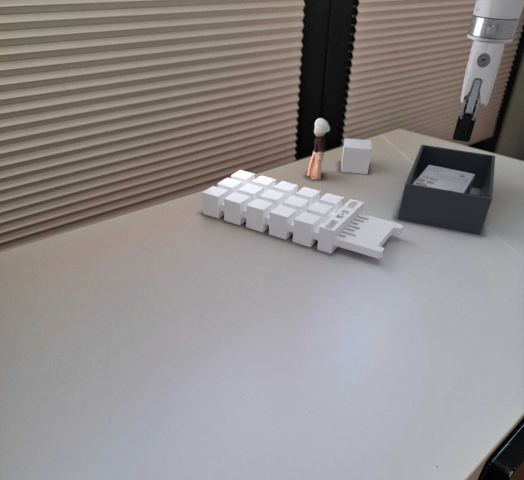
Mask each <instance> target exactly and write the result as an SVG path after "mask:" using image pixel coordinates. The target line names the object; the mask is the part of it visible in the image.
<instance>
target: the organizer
mask: <svg viewBox="0 0 524 480" xmlns="http://www.w3.org/2000/svg"><path fill="white" fill-rule="evenodd" d="M298 189H299V185H298V184H296V183H291V182H288V181H284V180H281V181H280V182H278V183H277V179H276V178H273V177H269V176H265V175H262V174H261V175H259V176H258V177H256V173H254V172H250V171H246V170H243V169H239V170H237V171H236V172H234V173H232V174H231V175H230V177H226V178H224V179H222V180H221V181H218V182H217V183H216V186H215V185H212V186H210V187H208V188H207V189H205V190H203V191H201V198H202V214H203V215H205V216H209V217H212V218H214V219H218V220H219V219H220V218H222V217H223V221H225V222H228V223H230V224H234V225H237V226H242V225H243V224H244V223H245V228H246V229H249V230H254V231H257V232H259V233H264V232H266V231H267V230H268V235H269V236H272V237H276V238H279V239H282V240H287V239H289V238H290V237H291V236H292V241H291V242H292V243H294V244H297V245H301V246H305V247H308V248H312V247H313V245H315V243H317V247H316V250H318V251H321V252H324V253H327V254H332V253H333V252H334V251H335V250H337V249H338V248H340V249H341V248H342V249H344V250H348V251H351V252H355V253H358V254H361V255H364V256H367V257H370V258H374V259H379V260H380V259H382V258H383V256H384V251H385V248H384V246H383V245H384V244H386V242H387V241H388V239H389V238H390V237H391V236H392V235H395V236H401V234H402V233H403V228H404V225H403V224H401V223H397V222H394V221H390V220H387V219H383V218H379V217H376V216H372V215H368V214H366V213H365V214H364V213H363V210H364V204H365V202H363V201H359V200H356V199H352V198H349V200H348V201H346V202H345V203H344V200H345V197H344V196H342V195H341V196H340V195H338V194H333V193H329V192H325V194H323V195H322V196H321V190H318V189H314V188H312V187H311V188H310V187H306V186H303V187H302V188H300V189H299V190H298Z"/></svg>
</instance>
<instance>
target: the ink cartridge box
mask: <svg viewBox="0 0 524 480" xmlns="http://www.w3.org/2000/svg"><path fill="white" fill-rule="evenodd" d="M474 179H475V174H472V173H467V172H462V171H457V170H452V169H448V168H443V167H438V166H433V165H428V167H427V168H426V169H425V170H424V171H423V172H422V174H421V175H420V176H419V177H418V178H416V180H415V182H414V183H413V184H414V185H420V186H426V187H431V188H437V189H443V190H449V191H455V192H461V193H466V194H471V190H472V188H473V187H472V185H473V182H474Z"/></svg>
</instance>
